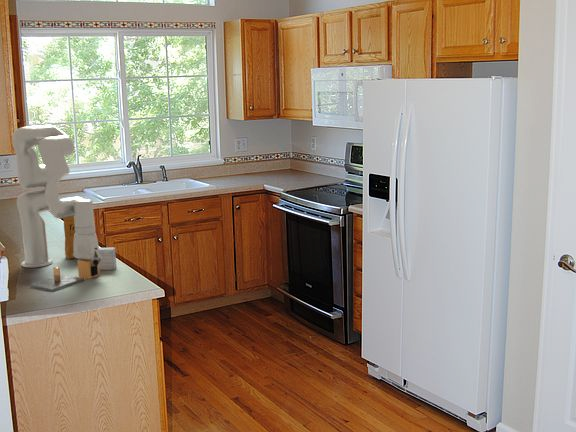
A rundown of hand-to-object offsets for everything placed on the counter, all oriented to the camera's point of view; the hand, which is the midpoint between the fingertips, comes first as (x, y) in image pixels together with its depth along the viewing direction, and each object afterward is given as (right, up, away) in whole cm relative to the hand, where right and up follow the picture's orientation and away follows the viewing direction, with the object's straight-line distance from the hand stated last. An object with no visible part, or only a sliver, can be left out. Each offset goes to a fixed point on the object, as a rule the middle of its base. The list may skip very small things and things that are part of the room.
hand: (88, 273), depth 281 cm
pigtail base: (-9, -3, -9) cm, 14 cm away
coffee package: (-13, +5, +32) cm, 35 cm away
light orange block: (0, -1, 0) cm, 1 cm away
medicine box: (+4, +1, +11) cm, 12 cm away
